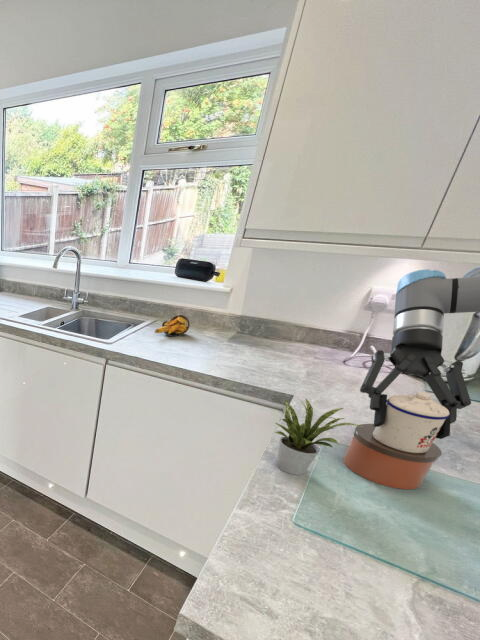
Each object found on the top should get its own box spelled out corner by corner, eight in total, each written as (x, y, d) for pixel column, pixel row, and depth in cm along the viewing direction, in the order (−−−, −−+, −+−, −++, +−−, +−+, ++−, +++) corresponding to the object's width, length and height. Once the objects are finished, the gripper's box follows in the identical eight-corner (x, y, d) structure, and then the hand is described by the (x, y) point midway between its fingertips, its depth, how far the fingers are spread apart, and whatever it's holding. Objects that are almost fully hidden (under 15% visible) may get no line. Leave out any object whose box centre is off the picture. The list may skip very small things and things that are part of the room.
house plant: (342, 470, 93) (372, 405, 86) (332, 498, 84) (365, 429, 77) (267, 444, 102) (289, 384, 95) (252, 468, 93) (275, 404, 86)
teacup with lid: (425, 460, 82) (454, 408, 77) (366, 440, 89) (389, 392, 84) (434, 439, 89) (461, 391, 84) (378, 423, 95) (400, 377, 91)
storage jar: (410, 463, 95) (427, 433, 92) (434, 498, 84) (454, 465, 81) (335, 447, 101) (348, 418, 98) (348, 477, 90) (364, 446, 87)
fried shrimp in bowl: (198, 324, 179) (183, 318, 166) (180, 344, 184) (164, 340, 171) (182, 312, 184) (166, 305, 171) (164, 332, 189) (147, 327, 177)
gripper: (474, 351, 89) (471, 449, 83) (346, 336, 99) (335, 422, 93) (501, 334, 83) (500, 439, 77) (361, 319, 92) (350, 412, 87)
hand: (410, 430), depth 85 cm, fingers closed on teacup with lid, 9 cm apart
